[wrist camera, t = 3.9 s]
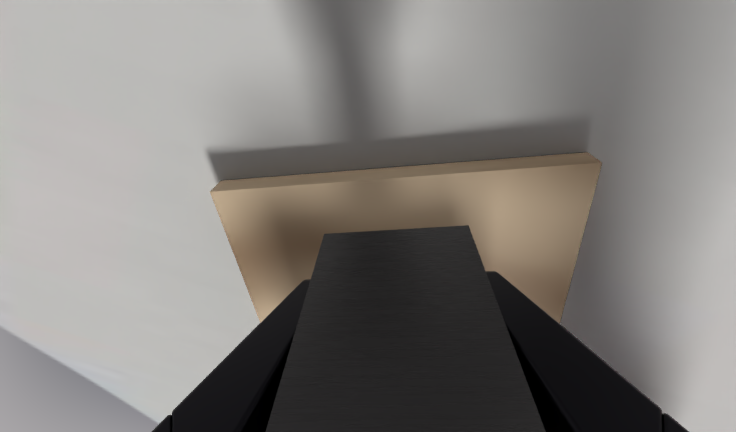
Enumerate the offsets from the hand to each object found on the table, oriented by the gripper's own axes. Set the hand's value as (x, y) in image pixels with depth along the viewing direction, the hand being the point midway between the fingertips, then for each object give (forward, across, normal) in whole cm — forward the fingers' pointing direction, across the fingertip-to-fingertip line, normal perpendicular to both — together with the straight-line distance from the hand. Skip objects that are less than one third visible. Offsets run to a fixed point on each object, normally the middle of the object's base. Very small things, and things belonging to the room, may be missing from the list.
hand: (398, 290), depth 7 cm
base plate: (+7, 0, +11) cm, 13 cm away
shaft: (+1, 0, +7) cm, 7 cm away
